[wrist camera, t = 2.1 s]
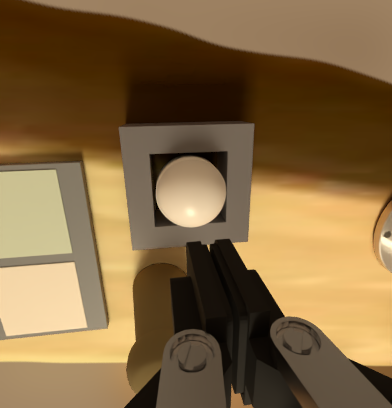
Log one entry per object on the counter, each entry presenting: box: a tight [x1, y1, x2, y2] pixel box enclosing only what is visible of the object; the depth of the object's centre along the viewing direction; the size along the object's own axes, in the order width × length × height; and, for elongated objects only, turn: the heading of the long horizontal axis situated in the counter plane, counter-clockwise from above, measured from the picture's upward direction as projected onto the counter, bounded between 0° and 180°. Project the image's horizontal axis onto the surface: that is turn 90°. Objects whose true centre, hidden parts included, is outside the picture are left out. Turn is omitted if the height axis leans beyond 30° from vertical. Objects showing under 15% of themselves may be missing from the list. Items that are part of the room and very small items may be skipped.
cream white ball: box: [156, 154, 226, 227], centre depth 21 cm, size 5×5×5 cm
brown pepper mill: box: [126, 263, 186, 394], centre depth 24 cm, size 6×6×11 cm
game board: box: [0, 161, 109, 340], centre depth 25 cm, size 12×18×1 cm, turn 1°
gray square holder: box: [119, 121, 254, 250], centre depth 23 cm, size 10×10×4 cm
